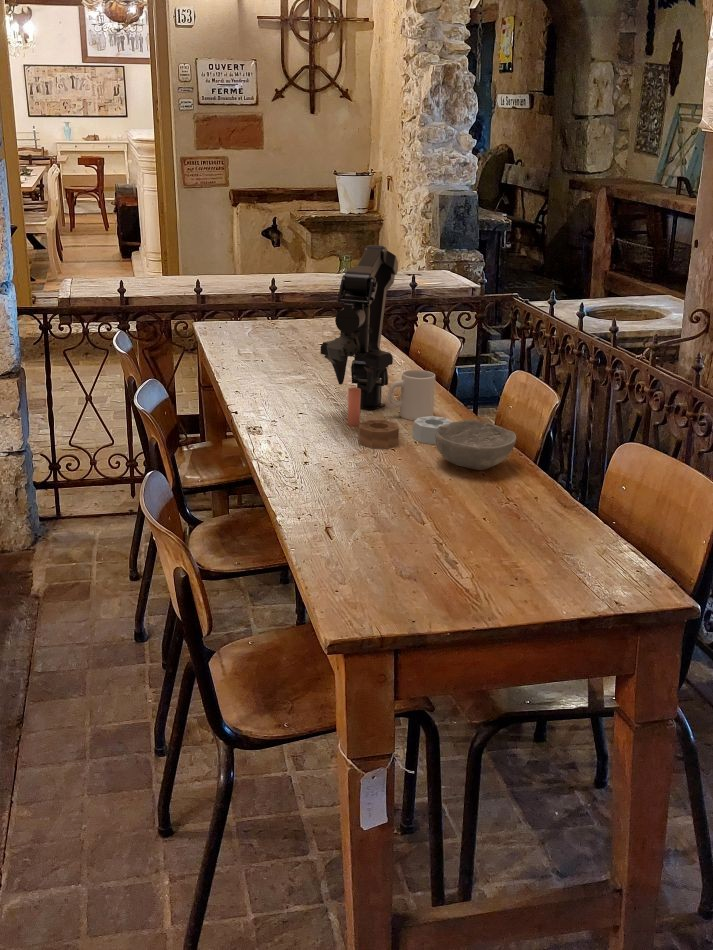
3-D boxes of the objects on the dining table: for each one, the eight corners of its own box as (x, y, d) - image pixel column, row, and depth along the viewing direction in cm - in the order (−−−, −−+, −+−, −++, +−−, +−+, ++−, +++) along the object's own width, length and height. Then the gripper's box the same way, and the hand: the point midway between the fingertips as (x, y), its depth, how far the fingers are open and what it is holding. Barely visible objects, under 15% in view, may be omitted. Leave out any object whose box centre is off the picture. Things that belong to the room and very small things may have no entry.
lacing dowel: (352, 421, 255) (354, 386, 252) (362, 424, 253) (363, 389, 250) (344, 424, 253) (346, 389, 250) (354, 427, 251) (355, 391, 248)
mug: (425, 410, 267) (428, 369, 263) (438, 419, 259) (440, 377, 256) (382, 412, 263) (383, 371, 260) (393, 422, 256) (395, 379, 252)
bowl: (460, 484, 216) (463, 448, 214) (417, 458, 231) (420, 424, 228) (530, 473, 224) (533, 438, 222) (484, 449, 239) (487, 416, 236)
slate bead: (419, 430, 250) (420, 414, 249) (456, 435, 248) (457, 419, 246) (409, 441, 242) (410, 424, 241) (446, 446, 240) (448, 429, 238)
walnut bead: (375, 433, 247) (376, 417, 245) (405, 442, 241) (406, 426, 240) (351, 441, 240) (351, 425, 239) (380, 450, 235) (381, 434, 233)
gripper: (305, 322, 244) (304, 386, 250) (364, 336, 233) (362, 402, 238) (336, 316, 252) (335, 378, 258) (395, 329, 241) (392, 393, 246)
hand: (354, 388), depth 250 cm, fingers open, 9 cm apart
